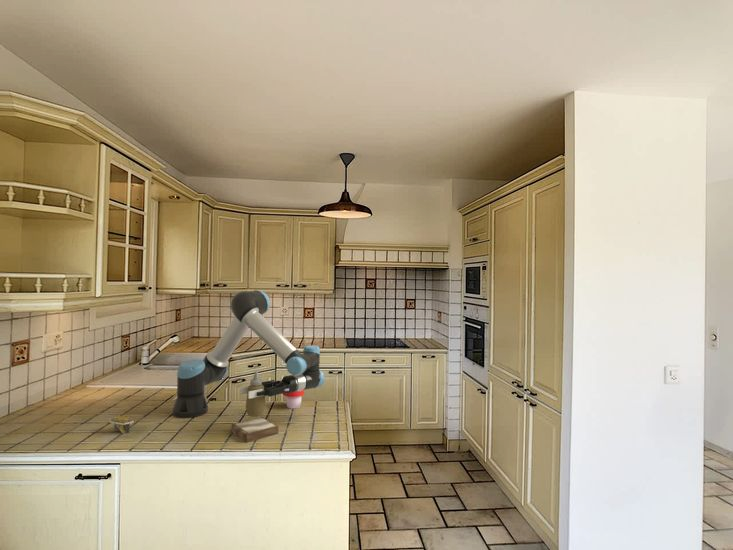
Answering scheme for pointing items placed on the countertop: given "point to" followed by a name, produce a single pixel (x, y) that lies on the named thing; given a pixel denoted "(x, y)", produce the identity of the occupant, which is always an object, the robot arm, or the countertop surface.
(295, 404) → the mushroom
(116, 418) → the platform
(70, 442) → the countertop surface
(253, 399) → the squeeze bottle
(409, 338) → the countertop surface
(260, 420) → the picture frame
